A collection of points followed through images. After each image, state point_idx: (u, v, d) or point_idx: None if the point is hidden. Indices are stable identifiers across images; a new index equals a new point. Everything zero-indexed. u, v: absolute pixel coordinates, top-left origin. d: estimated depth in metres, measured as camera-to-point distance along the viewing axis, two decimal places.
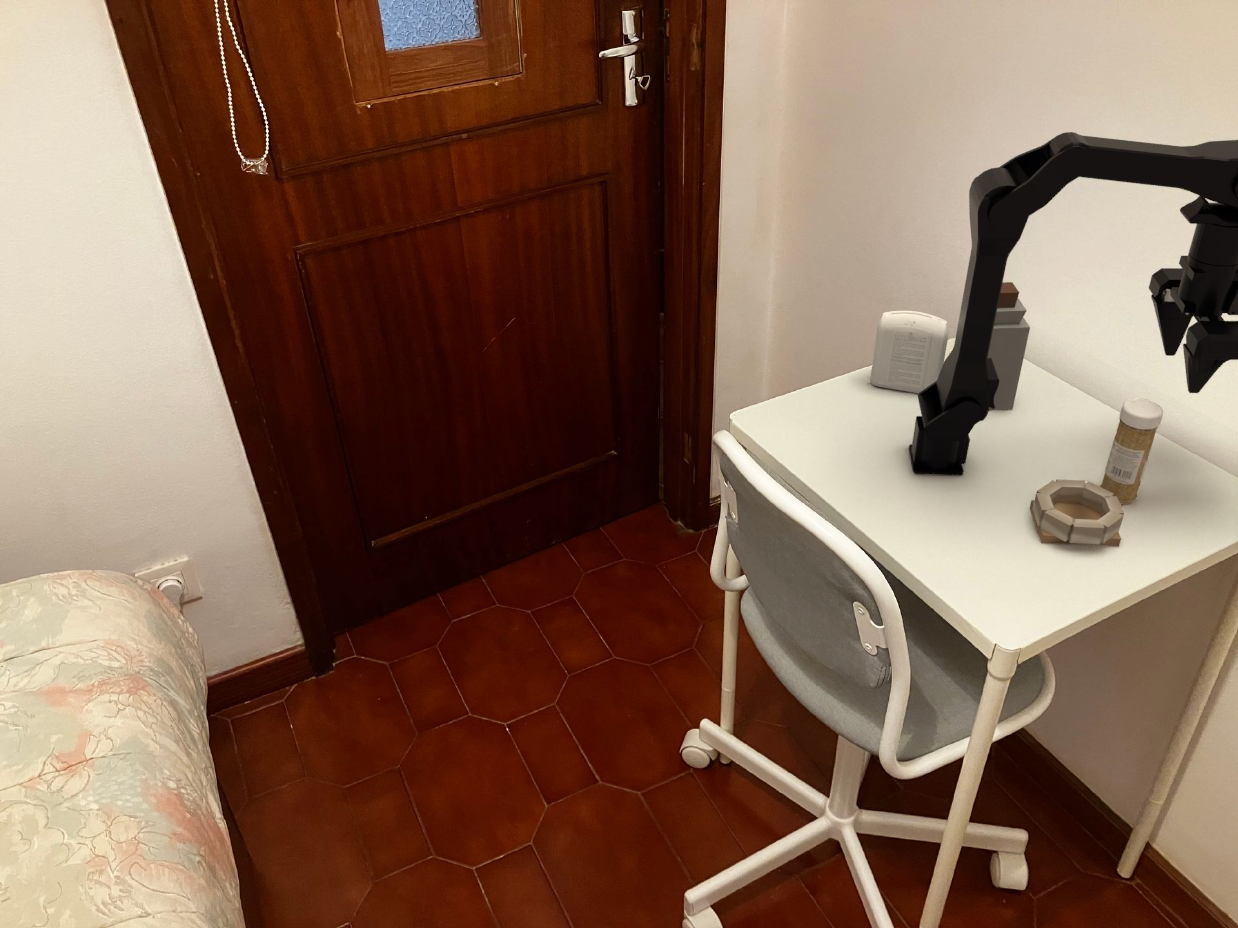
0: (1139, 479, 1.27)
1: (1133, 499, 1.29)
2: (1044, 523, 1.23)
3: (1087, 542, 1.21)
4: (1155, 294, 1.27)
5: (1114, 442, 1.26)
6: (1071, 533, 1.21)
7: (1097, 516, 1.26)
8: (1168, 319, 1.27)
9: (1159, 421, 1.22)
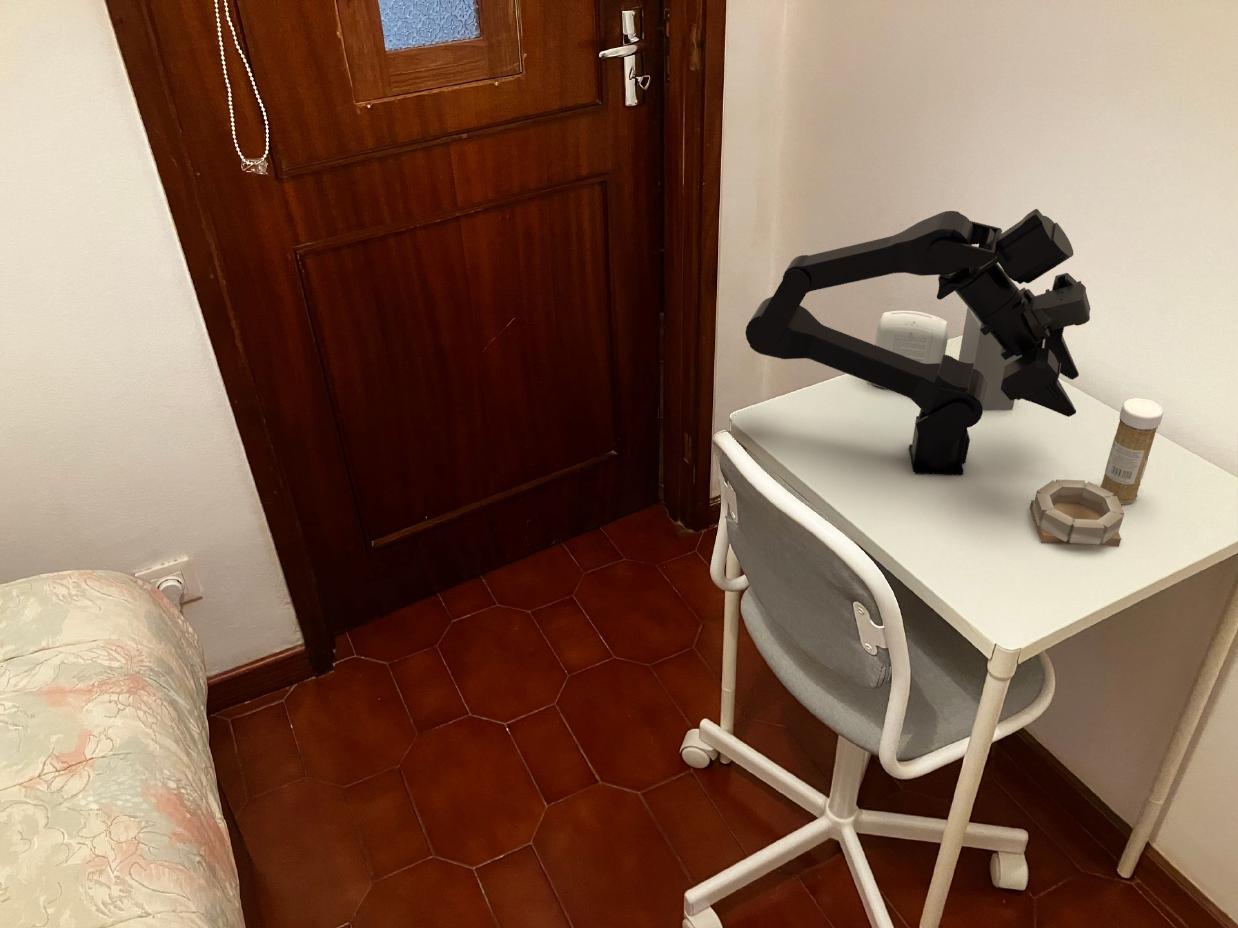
0: (1139, 479, 1.27)
1: (1133, 499, 1.29)
2: (1044, 523, 1.23)
3: (1087, 542, 1.21)
4: None
5: (1114, 442, 1.26)
6: (1071, 533, 1.21)
7: (1097, 516, 1.26)
8: None
9: (1159, 421, 1.22)
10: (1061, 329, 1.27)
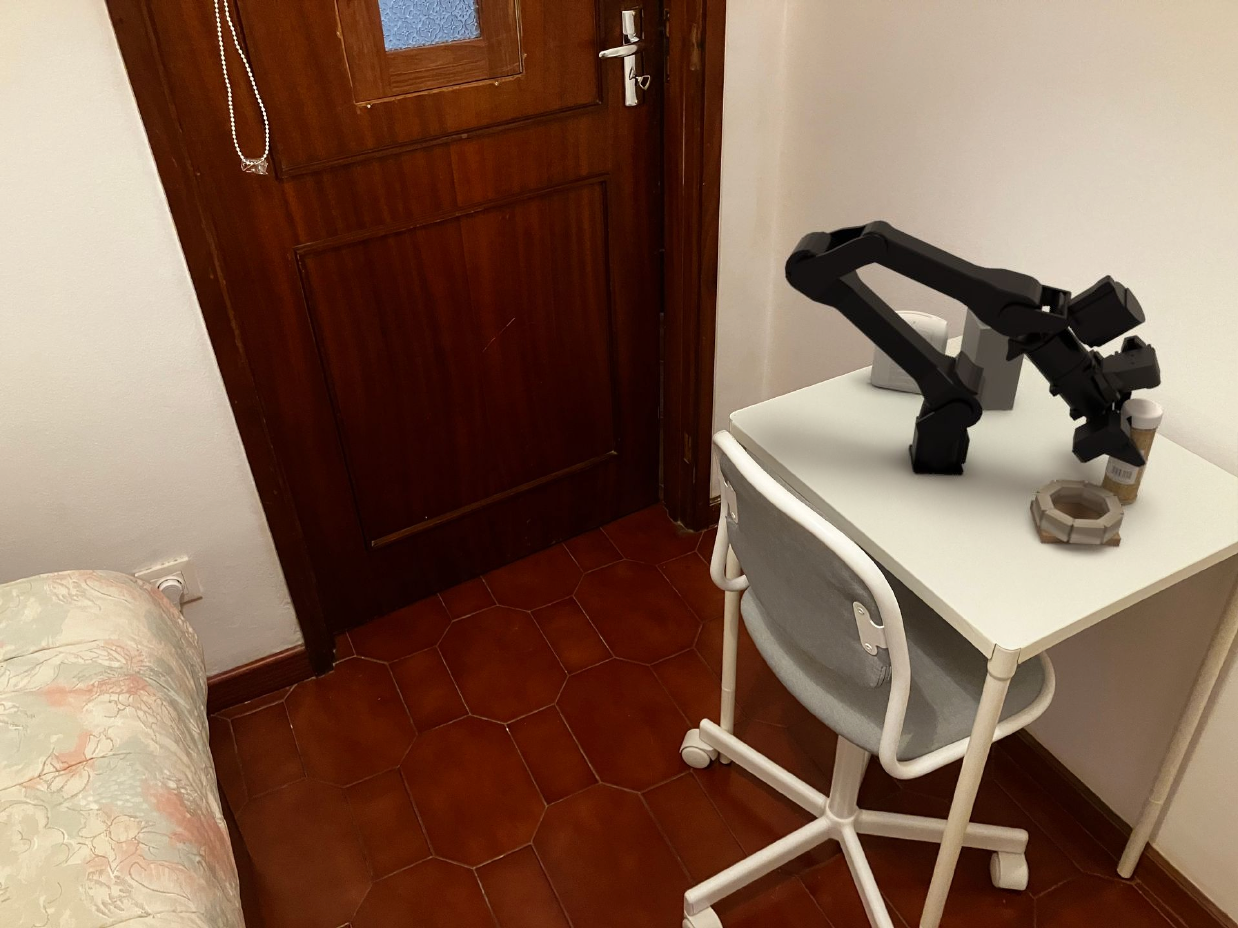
0: (1139, 479, 1.27)
1: (1133, 499, 1.29)
2: (1044, 523, 1.23)
3: (1087, 542, 1.21)
4: None
5: None
6: (1071, 533, 1.21)
7: (1097, 516, 1.26)
8: None
9: (1159, 421, 1.22)
10: (1128, 397, 1.26)
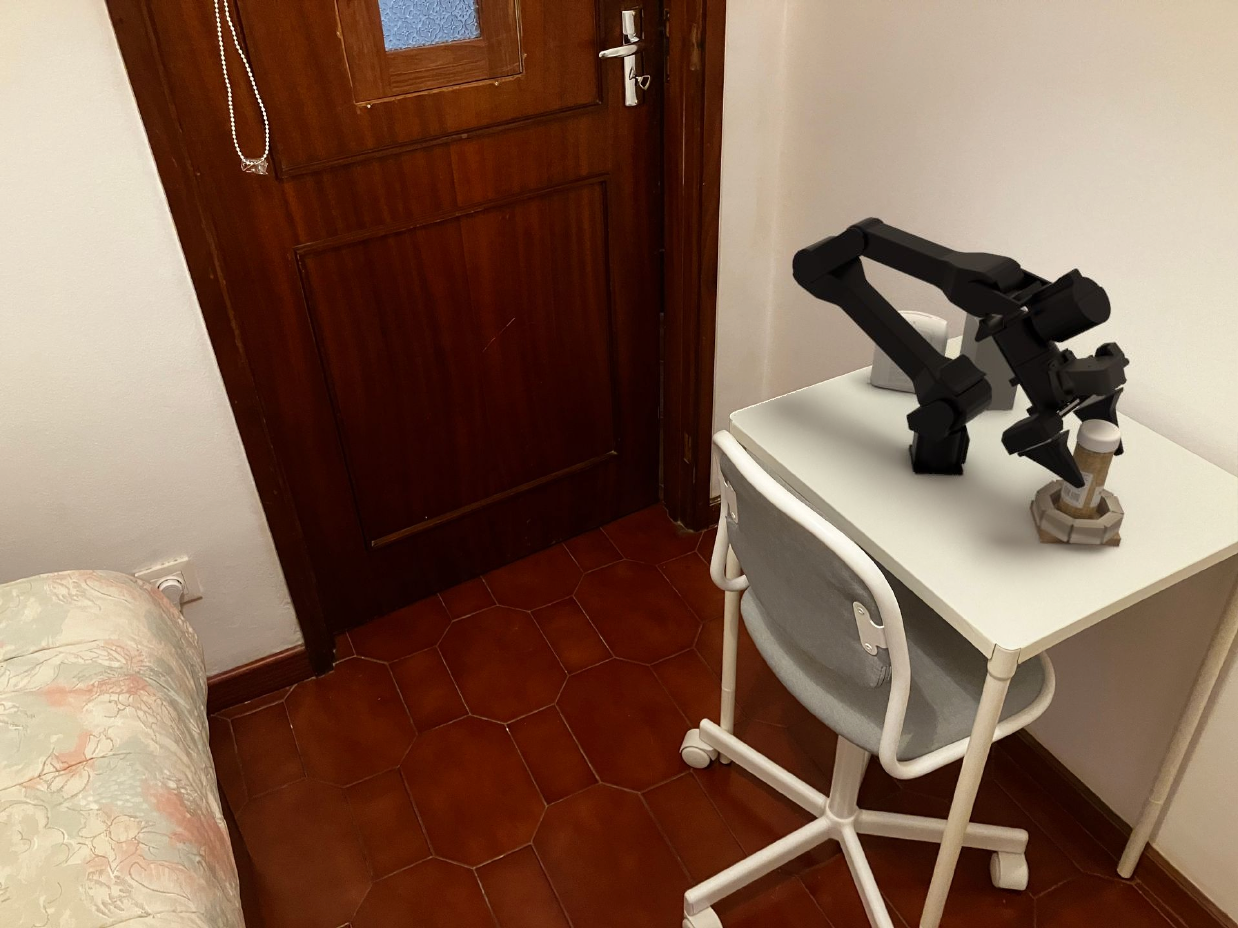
0: (1089, 505, 1.21)
1: None
2: (1044, 523, 1.23)
3: (1087, 542, 1.21)
4: None
5: None
6: (1071, 533, 1.21)
7: (1097, 516, 1.26)
8: None
9: (1111, 446, 1.16)
10: (1110, 401, 1.21)
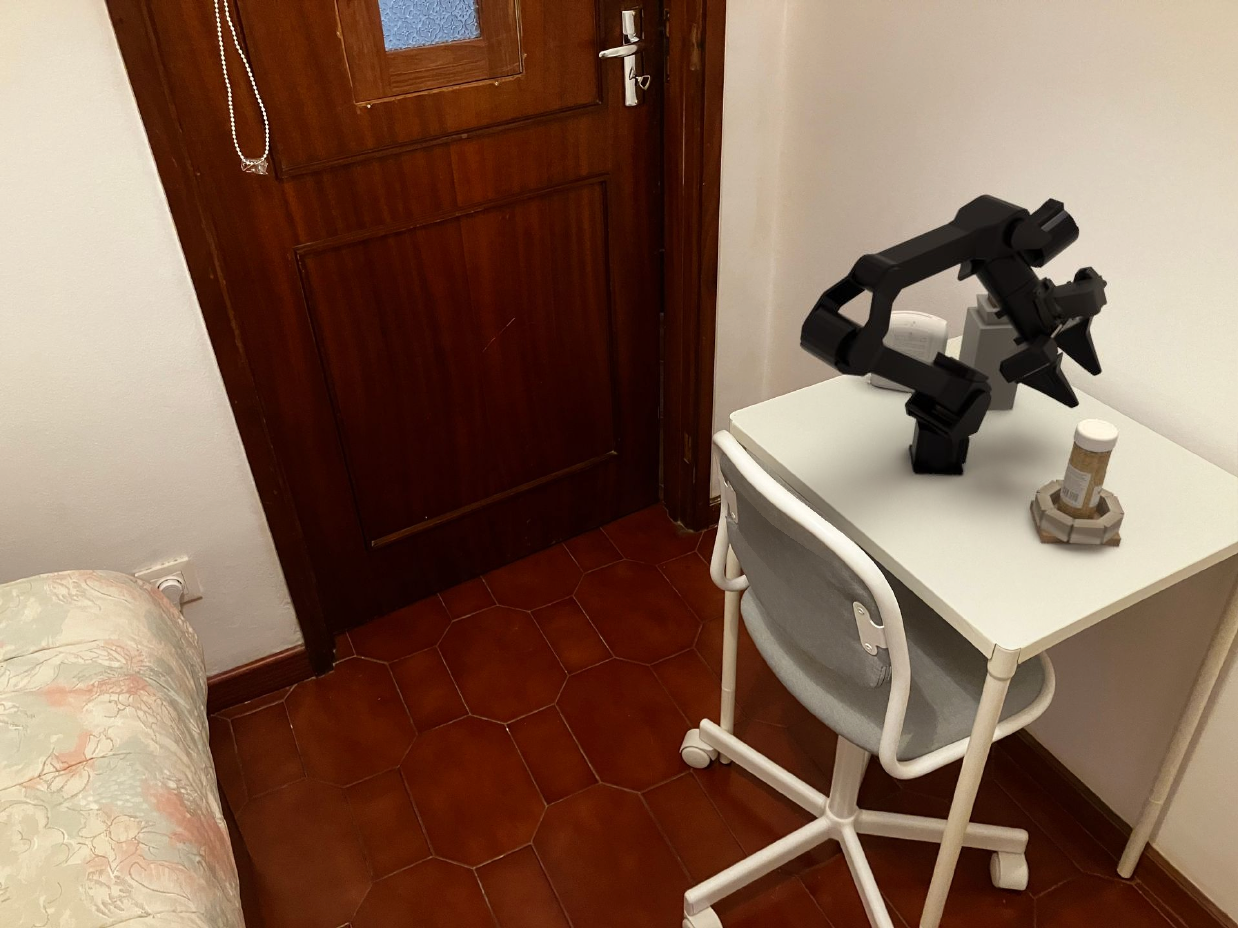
0: (1088, 505, 1.21)
1: None
2: (1044, 523, 1.23)
3: (1087, 542, 1.21)
4: None
5: None
6: (1071, 533, 1.21)
7: (1097, 516, 1.26)
8: (1067, 346, 1.30)
9: (1108, 446, 1.16)
10: (1086, 324, 1.28)
